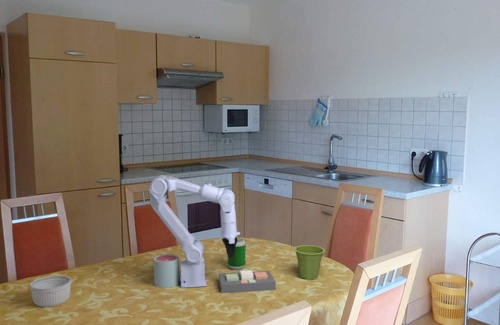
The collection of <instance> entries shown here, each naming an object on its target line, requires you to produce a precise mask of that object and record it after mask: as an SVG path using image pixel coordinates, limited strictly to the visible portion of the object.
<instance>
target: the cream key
mask: <svg viewBox="0 0 500 325" xmlns="http://www.w3.org/2000/svg"><path fill="white" fill-rule="evenodd" d="M239 272H240V279H241V280H253V273H252V272H253V271H252V270H250V269H249V270H239Z"/></svg>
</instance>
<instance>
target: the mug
mask: <svg viewBox="0 0 500 325" xmlns="http://www.w3.org/2000/svg"><path fill="white" fill-rule="evenodd" d="M179 259H180V257H179V256H178V255H176V254H171V253H169V254H168V253H167V254H166V253H165V254H160V255H156V256H155V257H154V258H153V269H154V270H153V272H154V274H153V275H154V276H153V278H154V280H153V282H154V287H156V288H161V289H169V288H173V287H177V286H178V285H179V284H180V265H179V264H180V262H179Z"/></svg>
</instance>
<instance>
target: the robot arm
mask: <svg viewBox="0 0 500 325" xmlns="http://www.w3.org/2000/svg"><path fill="white" fill-rule="evenodd" d="M177 190H180V191H183V192H188V193H191V194H195V195H198V196H199V198H200V199H201V200H204V201H207V202H210V203H211V202H212V203H214V204H219V205H220V211H219V214H220V216H219V217H220V228H221V229H220V230H221V237H222V238H221V240H222V243H223V245H224V247H225V250H226V254H227V259H228V258H231V257H234V253H235V247H236V244H237V241H238V240H237V238H238V237H237V236H240V235H241V232H240V231H237V230H238V229H237V215H236V214H237V213H236V205H235V199H236V198H235V197H236V196H235V193H234V191H232V190H231V189H228V188H224V187H221V188H220V187H216V186H214V185H212V183H209V182H208V184H207V183H205V184H203V185H198V184H196V183H193V182H190V181H188V180H187V181H186V180H183V179H181V178H177V177H174V176H171V175H169V176H168V175H166V174H165V175H164V174H160V175H158V176H157V177H156V178H154V179H153V180H151V181H150V184H149V188H148V193H149V200H150V207H151V208H152V209H153V211H154V212H155V213H156V214H157V216H158V217H159V218H160V220H161V221H162V222H163V223H164V225H165V226H166V227H167V229H168V231H170V232H171V234H172V236H174V237H175V239H176V240H177V242H178V243H179V244H180V247H181V251H182V252H183V253H184V255H185V260H183V261H180V275H179V282H180V287H181V288H183V289H184V288H195V287H196V288H197V287H199V288H201V287H207V281H206V275H205V274H206V268H205V267H206V266H205V264H206V262H205V261H206V260H205V257H204V256H203V254H204V252H205V245H204V243H203V242H202V241H201V240H198V239H197V238H196V237H195V236H194V235H193V234H191V233H190V232H189V231H188V229H187V228H186V227H185V225H184V224H183V222H181V220H180V219H179V218H178V216H177V215H176V213H174V211H173V209H172V208H170V206H169V204H168V203H167V202H166V201H167V195H168V192H169V193H170V192H172V191H177Z"/></svg>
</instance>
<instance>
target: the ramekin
mask: <svg viewBox="0 0 500 325" xmlns="http://www.w3.org/2000/svg"><path fill="white" fill-rule="evenodd" d="M71 285H72V278H71V277H70V276H67V275H61V274H59V275H56V274H55V275H47V276H43V277H39V278H36V279H34V280H32V282H30V284H29V289H30V293H31V298H32V301H33V303H34V304H35V306H37V307H42V308H43V307H44V308H47V307H49V308H50V307H55V306H58V305H59V306H60V305H62V304H64V303H66V302H67V301H68V299H69V298H70V296H71Z"/></svg>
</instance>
